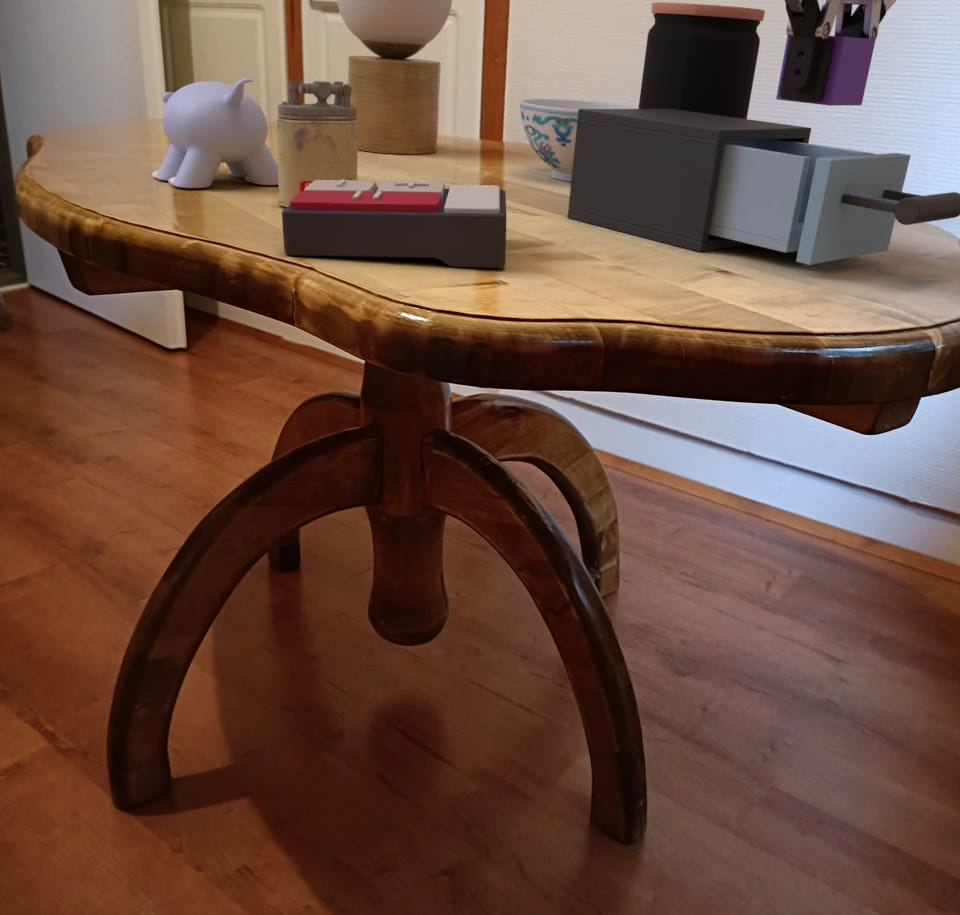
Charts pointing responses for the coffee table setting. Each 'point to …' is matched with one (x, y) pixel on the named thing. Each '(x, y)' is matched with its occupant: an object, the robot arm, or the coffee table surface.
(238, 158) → the hippopotamus toy
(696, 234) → the drawer cabinet
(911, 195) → the grey drawer
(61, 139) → the coffee table surface
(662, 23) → the coffee jar
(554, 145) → the chinaware
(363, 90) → the lamp
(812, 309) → the coffee table surface
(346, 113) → the lighter
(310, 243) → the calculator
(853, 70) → the purple cube
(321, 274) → the coffee table surface
